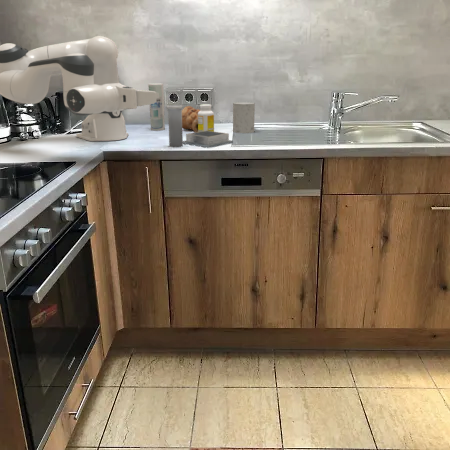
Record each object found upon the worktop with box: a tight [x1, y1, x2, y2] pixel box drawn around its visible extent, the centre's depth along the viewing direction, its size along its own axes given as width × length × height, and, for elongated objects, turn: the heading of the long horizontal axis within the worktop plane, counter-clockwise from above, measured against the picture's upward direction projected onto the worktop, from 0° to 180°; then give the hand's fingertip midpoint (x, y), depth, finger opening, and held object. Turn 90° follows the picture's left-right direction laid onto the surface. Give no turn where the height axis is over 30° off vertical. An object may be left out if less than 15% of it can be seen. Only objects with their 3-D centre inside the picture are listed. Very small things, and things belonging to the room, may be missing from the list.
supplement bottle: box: [198, 103, 215, 132], centre depth 207 cm, size 7×7×13 cm
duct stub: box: [166, 103, 184, 148], centre depth 185 cm, size 5×5×15 cm
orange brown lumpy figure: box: [182, 105, 201, 133], centre depth 220 cm, size 19×11×15 cm
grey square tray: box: [183, 130, 234, 149], centre depth 192 cm, size 14×14×4 cm
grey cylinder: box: [232, 101, 256, 134], centre depth 219 cm, size 10×10×12 cm
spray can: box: [147, 83, 166, 132], centre depth 223 cm, size 6×6×20 cm
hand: (148, 94), depth 172 cm, fingers open, 8 cm apart
